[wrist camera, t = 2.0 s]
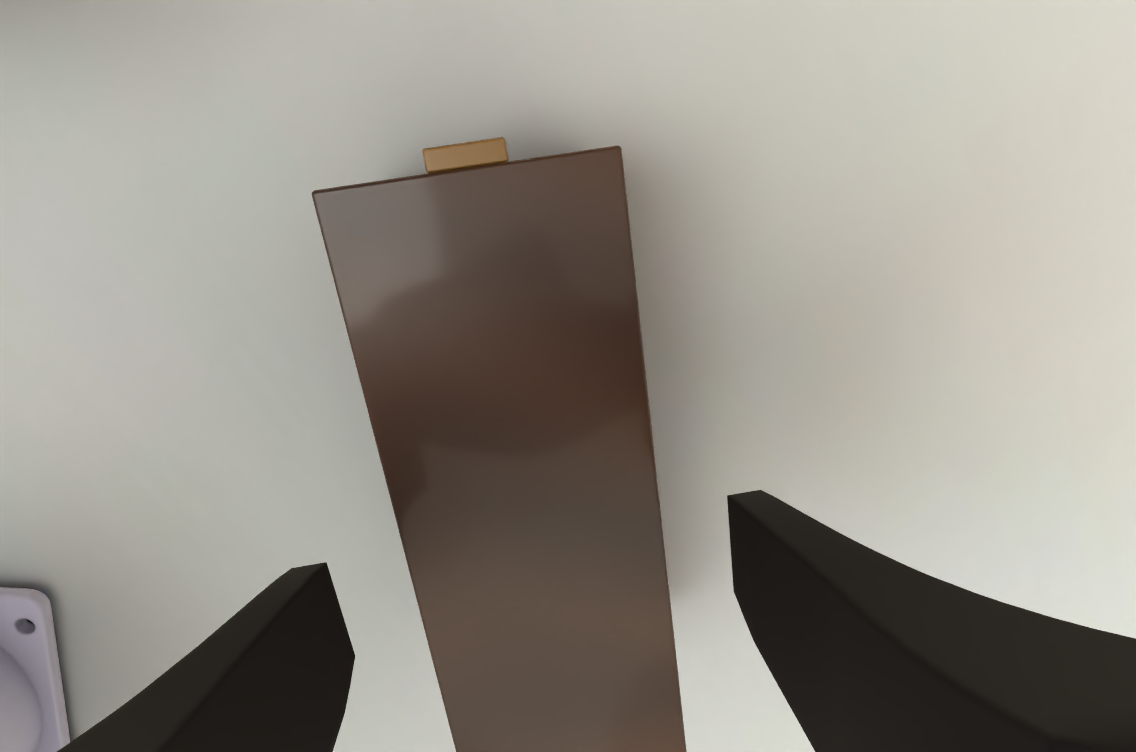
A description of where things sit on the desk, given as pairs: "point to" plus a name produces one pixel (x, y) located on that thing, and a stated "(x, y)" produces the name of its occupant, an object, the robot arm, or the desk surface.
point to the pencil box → (516, 440)
